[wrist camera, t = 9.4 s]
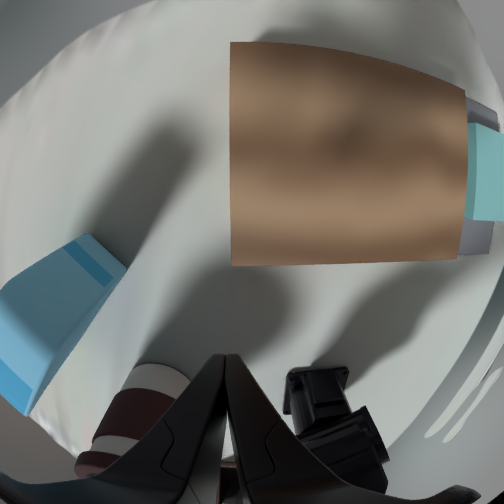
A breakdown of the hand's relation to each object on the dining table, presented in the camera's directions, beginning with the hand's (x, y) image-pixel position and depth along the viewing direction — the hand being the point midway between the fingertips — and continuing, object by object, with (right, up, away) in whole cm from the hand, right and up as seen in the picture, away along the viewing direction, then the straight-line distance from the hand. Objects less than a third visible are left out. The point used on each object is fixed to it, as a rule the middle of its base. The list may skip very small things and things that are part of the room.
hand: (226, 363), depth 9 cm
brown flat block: (+8, +11, +11) cm, 17 cm away
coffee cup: (-9, -10, +17) cm, 22 cm away
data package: (-15, 0, +13) cm, 20 cm away
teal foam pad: (+24, +11, +9) cm, 28 cm away
